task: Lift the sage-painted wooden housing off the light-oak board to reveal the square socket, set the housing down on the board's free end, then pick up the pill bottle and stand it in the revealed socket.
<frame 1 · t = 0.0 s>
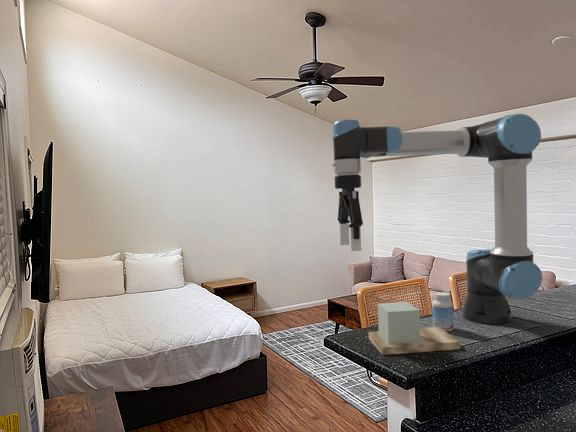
hand: (350, 247, 122), 28 cm above the table, fingers open, 13 cm apart
pill bottle: (443, 329, 131), on the table
board: (412, 343, 120), on the table
housing: (398, 337, 119), point 2 cm above the table, touching board
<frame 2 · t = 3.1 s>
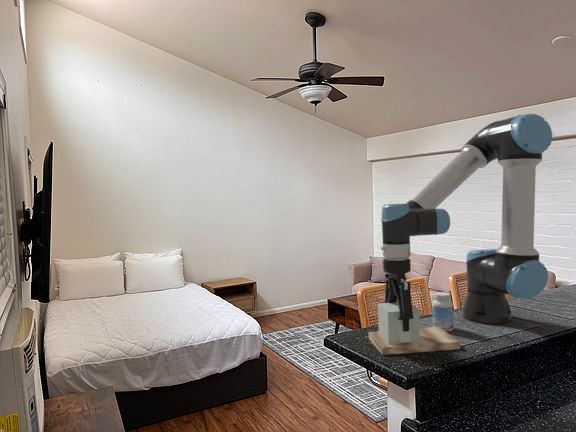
hand: (398, 335, 119), 2 cm above the table, fingers closed on housing, 9 cm apart
housing: (398, 337, 119), point 2 cm above the table, touching board, gripper
everything else where it was.
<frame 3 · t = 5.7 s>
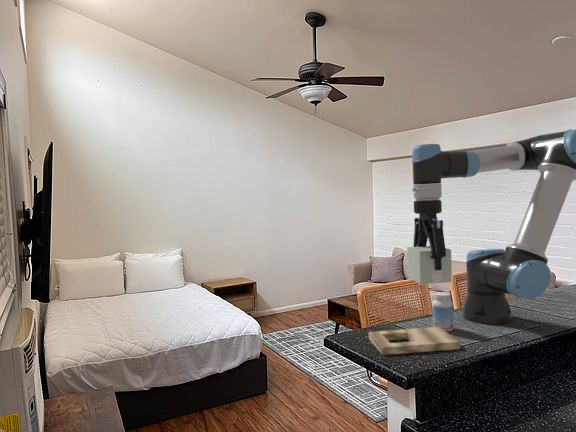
hand: (429, 278, 119), 19 cm above the table, fingers closed on housing, 9 cm apart
housing: (429, 279, 119), point 18 cm above the table, touching gripper
everything else where it was.
when the fingers open (4 cm above the table, at t = 8.7 s): housing drops 1 cm, resting on board.
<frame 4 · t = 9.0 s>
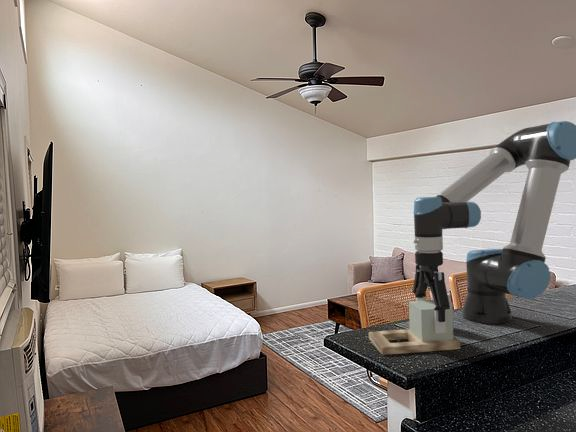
hand: (430, 325, 120), 5 cm above the table, fingers open, 12 cm apart
housing: (430, 335, 120), point 2 cm above the table, touching board
everything else where it was.
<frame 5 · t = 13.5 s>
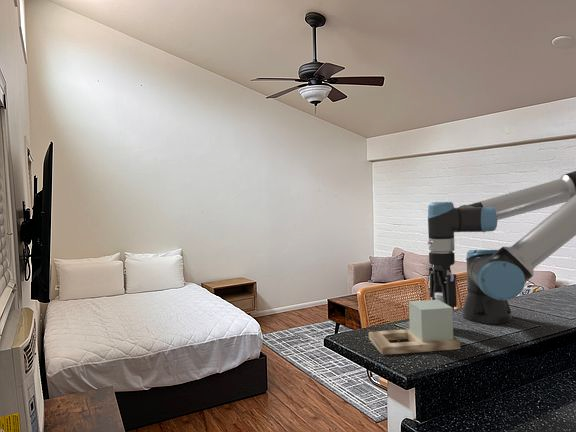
hand: (443, 324, 131), 1 cm above the table, fingers closed on pill bottle, 6 cm apart
pill bottle: (443, 329, 131), on the table, touching gripper
everything else where it was.
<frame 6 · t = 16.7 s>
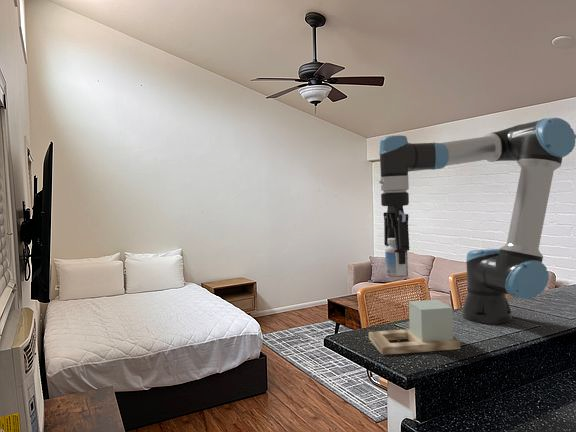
hand: (397, 273, 118), 21 cm above the table, fingers closed on pill bottle, 6 cm apart
pill bottle: (397, 278, 119), point 19 cm above the table, touching gripper
everything else where it was.
when the fingers open (3 cm above the table, at t = 20.2 s): pill bottle drops 2 cm, resting in board.
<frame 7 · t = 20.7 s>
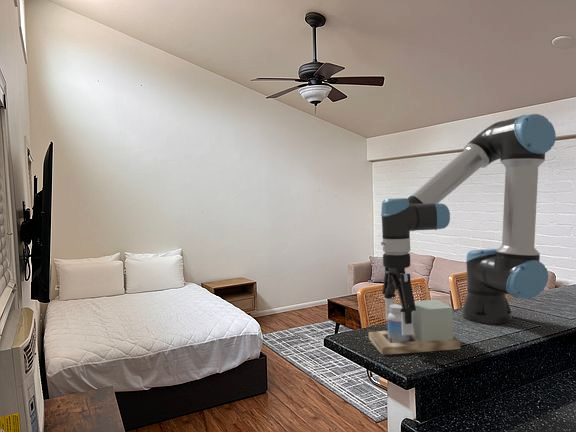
hand: (398, 326, 119), 5 cm above the table, fingers open, 13 cm apart
pill bottle: (399, 345, 120), resting in board
everything else where it was.
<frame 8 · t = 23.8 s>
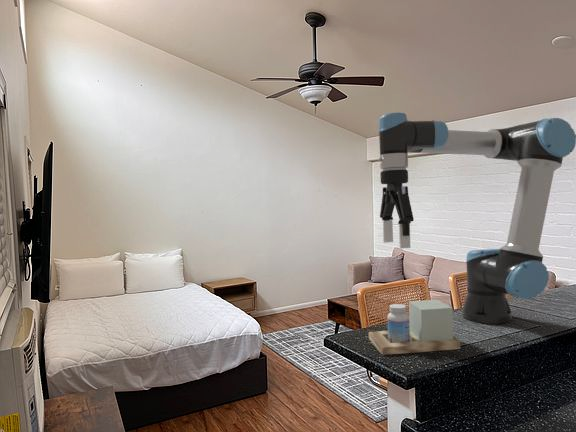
hand: (396, 245, 118), 29 cm above the table, fingers open, 13 cm apart
nothing on the table moved.
at the end: pill bottle 0.0 cm from the target spot on the board, point 0.0 cm above the board's base; pill bottle tilted 0°; housing moved 9.5 cm from its start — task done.
